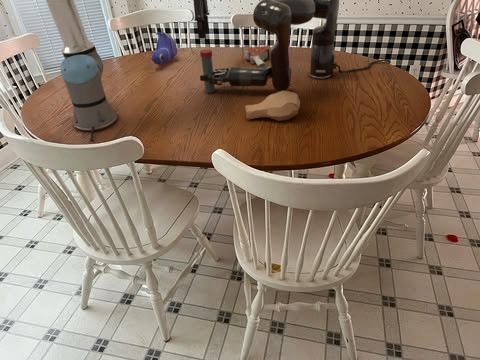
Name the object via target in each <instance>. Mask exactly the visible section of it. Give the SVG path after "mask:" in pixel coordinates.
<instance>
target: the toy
mask: <svg viewBox="0 0 480 360" xmlns="http://www.w3.org/2000/svg"><path fill="white" fill-rule="evenodd" d="M155 35H156V36H157V35H158V38H157V39H156V45H155V51H151V53H152V54H151V56H150V60H151V61H152V62H153V63H154V64H156V65H157V67H158V68H159V69H161V66H162V64H167V63H169V62H171V61H173V60H174V59H175V57H177V55H178V46H177V43H176V41H175V39H174V38H173V37H172V36H171V35H170V36H168V35H167V34H166V32H164V31H162V32H159V31H158V32H156V33H155Z"/></svg>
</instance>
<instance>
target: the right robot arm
mask: <svg viewBox="0 0 480 360" xmlns="http://www.w3.org/2000/svg"><path fill="white" fill-rule="evenodd" d="M339 10H340V0H260V1H259V2H258V3H257V4H256V6H255V7H254V9H253V13H252V19H253V23H254V24H255V26H256V27H257V28H258V29H260V30H263V31H266V32H267V33H271V34H273V35H275V36H276V39H277V40H276V42H274V44H272V46H271V48H270V49H269V62H270V66H265V67H264V68H258V67H247V66H246V67H241V66H240V67H239V66H232V67H230V68H229V67H225V68H215V69H213V75H203V74H201V75H200V76H199V80H200V82H204V81H209V83H210V84H214V86H215V85H216V86H223V84H226V83H228V84H229V85H230V86H231V87H265V86H267V84H268V81H269V80H270V79H271V83H272V87H273V88H274V90H275V91H277V92H280V91H288V90H289V88H290V86H291V79H292V67H291V66H290V56H289V52H290V51H289V47H290V39H291V29H292V26H298V25H304V24H306V23H310V21H311V20H313V19H323V20H325V23H324V24H322V25H319V26H316V27H313V29H312V35H311V36H312V37H311V51H310V52H311V53H310V66H309V77H310V78H312V79H316V80H325V79H329V78H331V77H333V74H334V70H336V69H337V68H338V72H339V73H349V72H356V71H362V70H366V69H370V67H371V66H372V65H373V64H377V63H379V62H388V64H392V62H391V60H389V59H379V60H374V61H371V62H370V63H369V65H368V66H364V67H360V68H354V69H353V68H352V69H349V70H341V65H339V64H337V62H336V61H335V57H336V56H335V54H334V46H335V38H336V37H335V36H336V29H337V23H338V16H339V12H340V11H339Z"/></svg>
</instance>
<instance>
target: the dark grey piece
mask: <svg viewBox="0 0 480 360" xmlns="http://www.w3.org/2000/svg"><path fill="white" fill-rule="evenodd" d="M200 58H201V59H200V60H201V67H202V75H213V70H214V66H213V59H212V58H213V56H212V57H209V58H202V57H200ZM203 84H204V93H206V94H212V93H215V92H216V88H215V84H210V83H209V81H203Z"/></svg>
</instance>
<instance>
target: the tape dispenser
mask: <svg viewBox="0 0 480 360" xmlns="http://www.w3.org/2000/svg"><path fill="white" fill-rule="evenodd" d="M257 49H259V50H257ZM243 57H244V58H246V60H247V61H250V64H252V65H253V64H256V66H257V68H266V67H267V66H266V65H267V63H266V62H264V61H265V60H267V59H270V47H269V46H268V45H262V46H255V47H250V48H243Z"/></svg>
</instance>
